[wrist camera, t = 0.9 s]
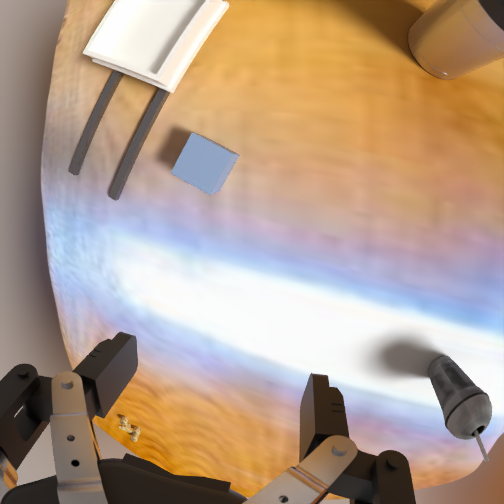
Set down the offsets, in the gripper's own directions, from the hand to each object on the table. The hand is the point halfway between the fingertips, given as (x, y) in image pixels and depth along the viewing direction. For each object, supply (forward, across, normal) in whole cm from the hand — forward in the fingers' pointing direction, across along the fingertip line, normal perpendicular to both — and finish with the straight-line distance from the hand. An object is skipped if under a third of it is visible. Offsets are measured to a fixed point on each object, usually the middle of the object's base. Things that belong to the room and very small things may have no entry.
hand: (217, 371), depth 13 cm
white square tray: (+25, +16, -24) cm, 38 cm away
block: (+26, +8, -8) cm, 28 cm away
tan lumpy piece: (+26, +20, +42) cm, 54 cm away
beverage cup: (+26, -31, +16) cm, 44 cm away
